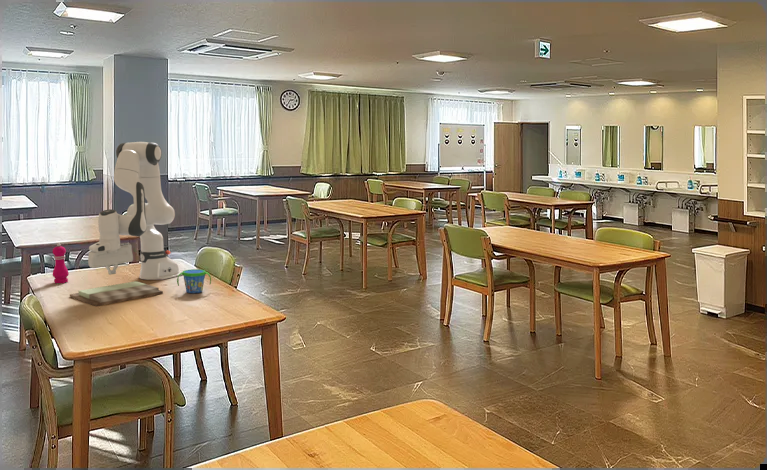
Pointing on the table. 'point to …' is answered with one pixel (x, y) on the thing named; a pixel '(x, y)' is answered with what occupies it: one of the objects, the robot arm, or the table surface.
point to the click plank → (109, 288)
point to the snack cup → (194, 280)
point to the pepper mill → (60, 265)
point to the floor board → (119, 295)
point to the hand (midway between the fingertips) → (112, 274)
